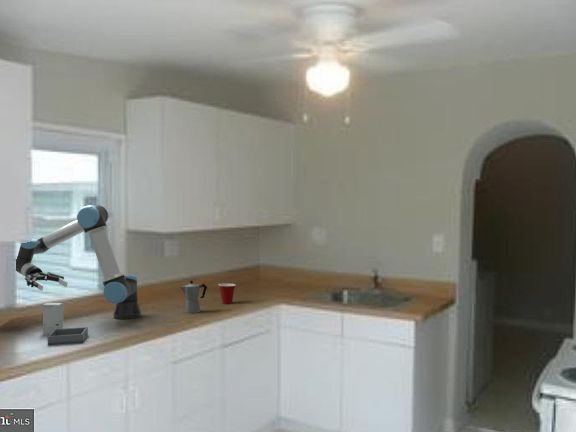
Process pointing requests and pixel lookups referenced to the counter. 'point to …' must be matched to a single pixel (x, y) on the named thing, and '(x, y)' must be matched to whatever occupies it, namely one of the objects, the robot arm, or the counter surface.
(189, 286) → the coffeepot
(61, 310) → the skincare box
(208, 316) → the counter surface
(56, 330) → the bin
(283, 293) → the counter surface
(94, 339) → the counter surface
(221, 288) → the plastic cup
